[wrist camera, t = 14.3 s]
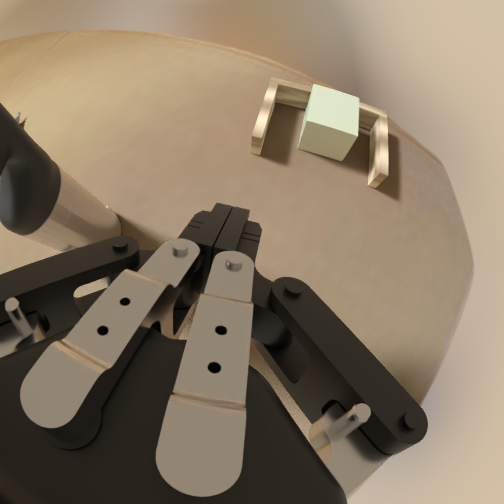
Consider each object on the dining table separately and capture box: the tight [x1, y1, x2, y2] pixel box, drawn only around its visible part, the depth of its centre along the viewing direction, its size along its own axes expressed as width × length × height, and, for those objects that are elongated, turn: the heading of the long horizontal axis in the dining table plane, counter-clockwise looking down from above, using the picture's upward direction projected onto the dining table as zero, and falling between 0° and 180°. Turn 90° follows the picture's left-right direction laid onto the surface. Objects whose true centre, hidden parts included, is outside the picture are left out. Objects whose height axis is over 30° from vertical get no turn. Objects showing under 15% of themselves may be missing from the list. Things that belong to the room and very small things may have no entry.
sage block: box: [298, 84, 359, 161], centre depth 40 cm, size 9×8×8 cm
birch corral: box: [251, 78, 388, 188], centre depth 42 cm, size 14×22×5 cm, turn 76°
